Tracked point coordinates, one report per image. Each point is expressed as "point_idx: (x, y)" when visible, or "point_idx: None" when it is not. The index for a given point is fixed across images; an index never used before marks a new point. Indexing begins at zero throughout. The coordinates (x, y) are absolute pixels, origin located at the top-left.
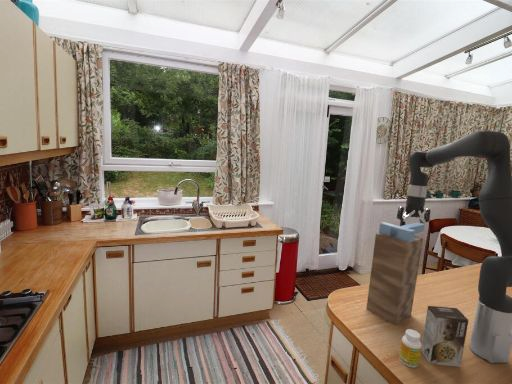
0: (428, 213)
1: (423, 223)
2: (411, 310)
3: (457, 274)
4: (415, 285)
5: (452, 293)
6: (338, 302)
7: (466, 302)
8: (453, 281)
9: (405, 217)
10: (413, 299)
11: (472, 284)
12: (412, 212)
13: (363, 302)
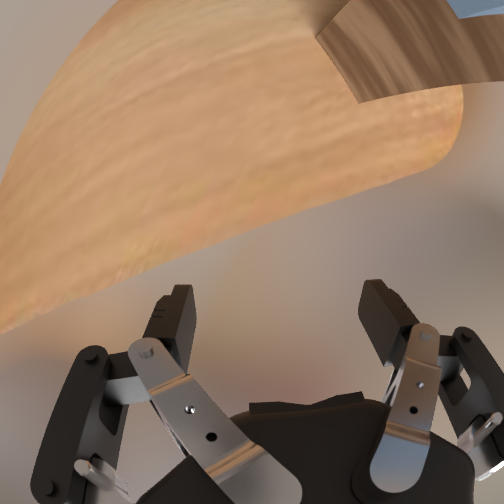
0: (64, 448)
1: (156, 335)
2: (320, 32)
3: (50, 283)
4: (348, 2)
5: (110, 159)
6: (452, 114)
7: (104, 112)
8: (72, 239)
9: (435, 359)
10: (330, 21)
11: (37, 228)
12: (414, 438)
13: (408, 102)
